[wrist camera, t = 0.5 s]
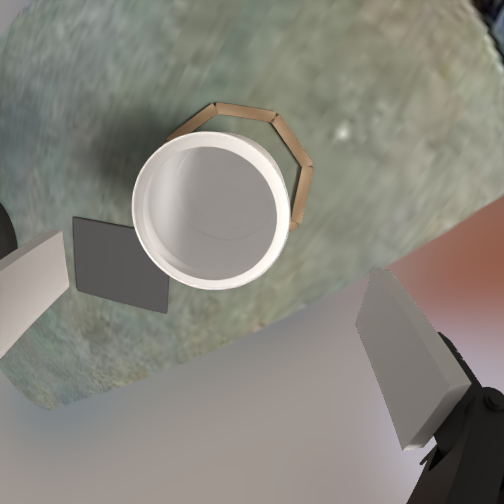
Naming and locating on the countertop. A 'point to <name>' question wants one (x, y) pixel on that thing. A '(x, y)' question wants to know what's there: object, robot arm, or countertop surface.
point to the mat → (117, 266)
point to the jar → (211, 209)
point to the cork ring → (282, 130)
